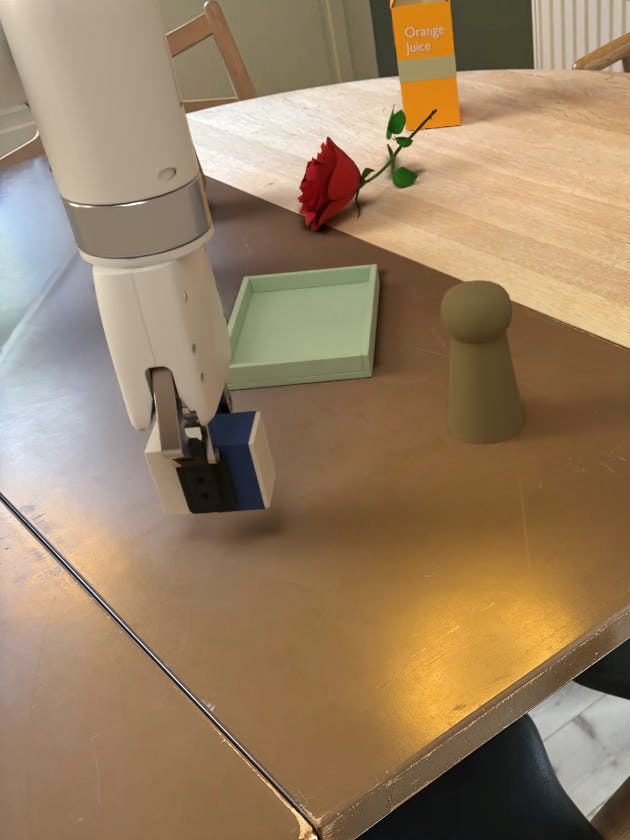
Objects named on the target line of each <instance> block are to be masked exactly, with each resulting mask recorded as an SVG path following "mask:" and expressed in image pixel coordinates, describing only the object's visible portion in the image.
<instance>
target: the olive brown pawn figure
mask: <svg viewBox="0 0 630 840" xmlns="http://www.w3.org/2000/svg"><path fill="white" fill-rule="evenodd" d="M439 311H440V312H439V313H440V319H441V322H442V325H443V328H444V330H445V332H447V334H448V335H449V336H450V341H449V374H448V375H449V376H448V377H449V378H448V411H447V427H448V428H447V429H448V433H450V434H451V435H452V437H453V438H454V439H456V440H458V441H461V442H463V443H467V444H473V445H489V444H497V443H500V442H504V441H507V440H509V439H511V438H513V437H515V436H516V435H518V433H520V431H522V430H523V428H524V425H525V416H524V411H523V407H522V401H521V396H520V392H519V386H518V382H517V378H516V377H517V376H516V373H515V368H514V363H513V358H512V353H511V348H510V343H509V339H508V334H507V330H508V329H509V327H510V325H511V323H512V317H513V303H512V301H511V298H510V295H509V292H508V291H507V290H506V289H505V287H503V286H502V285H501V284H499V283H496V282H493V281H491V280H483V279H481V280H479V279H478V280H475V279H473V280H469V281H468V280H467V281H464V282H460V283H458V284H456V285H454V286H452V287H451V288H449V289H448V290H447V291H446V292H445V294H444V296H443V298H442V301H441V302H440V310H439Z"/></svg>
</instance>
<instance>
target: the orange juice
mask: <svg viewBox="0 0 630 840" xmlns="http://www.w3.org/2000/svg"><path fill="white" fill-rule="evenodd" d="M451 4H452V3H451V0H389V9H390V10H391V11H390V12H391V20H392V32H393V40H394V41H393V42H394V45H395V51H396V53H395V54H396V62H397V70H398V71H397V72H398V79H399V85H400V92H401V93H400V94H401V101H402V110H403V112H404V114H405V116H406V123H405V126H404V128H405V131H406V130H414V131H415V129H417V128H418V127H419V125H420V124H421V123H422V122H423V121H424V120H425V119H426V118H427V117H428V116H429V115H430V114H431V112H432V110H433V111H434V110H435V109H437V112H436V113H435V114H434V115H433V116H432V117H431V118H432V119H429V120H428V121H427V122H426V123H425V124H424V126H423V127H422V128H421V129H423V130H425V129H424V128H432V129H434V128H433V127H442V128H444V127H443V126H451V127H453V126H452V125H461V112H460V101H459V91H458V80H457V79H458V78H457V64H456V63H457V62H456V54H455V43H454V30H453V26H454V25H453V24H454V23H453V19H452V18H453V16H452V11H451V9H452V8H451Z"/></svg>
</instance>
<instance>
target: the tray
mask: <svg viewBox="0 0 630 840" xmlns="http://www.w3.org/2000/svg"><path fill="white" fill-rule="evenodd" d="M380 287H381V283H380V276H379V269H378V264H377V263H373V264H363V265H352V266H342V267H331V268H321V269H311V270H302V271H301V270H300V271H290V272H281V273H280V272H279V273H270V274H260V275H247V276H243V279H242V281H241V284H240V287H239V291H238V294H237V297H236V299H235V302H234V306H233V309H232V312H231V315H230V318H229V321H228V324H227V328H228V333H229V338H230V345H231V362H230V367H229V371H228V374H227V378H226V383H227V386H228V389H229V391H236V390H246V389H257V388H269V387H280V386H288V385H300V384H310V383H311V384H312V383H320V382H321V383H322V382H332V381H341V380H342V381H343V380H353V379H364V378H373V370H374V358H375V346H376V334H377V323H378V312H379V311H378V310H379V301H380V300H379V299H380V298H379V297H380Z"/></svg>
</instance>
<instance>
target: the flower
mask: <svg viewBox="0 0 630 840" xmlns="http://www.w3.org/2000/svg"><path fill="white" fill-rule="evenodd" d="M395 105H396V103H394V104H393V107H392V109H391V113H390V116H389V119H388V123H387V128H386V132H385V137H386V140H387V141H390V140H393V141H396V144H397V145H399V146H397V148H396V149H395V150H394V151H393V148H392V147H391V146H390V144H389V143H387V144H386V147H387V152H388V154H389V160H388V161H387V163H386V164H385V165H384V166H383V167H382V168H380V170H379V171H377V172H376V170H375V169H373V168H370V167H364V169H363V171H362V173H361V171H360V169H359V167H358V164H357V163H356V162H355V161H354V159H353V158H351V157H350V155H348V154H347V153H346V152H345V151H344V150H342V148H340V147H339V146H338V145H337V144H336V143H335V141H333V139H332V138H331V137H330V136H326V139H325V142H324V141H323V142H322V143H320V150H321V151H320V152H317V154H316V158H314V157H313V156H311V160H309V161H308V162H307V164H306V166H305V171H304V175H303V178H302V180H301V182H300V185H299V187H298V189H299V190H300V192H301V195H299V196H297V197H296V199H297V200H298V203H301V204H302V205H301V208H300V209H299V211H298V214H299V215H305V224H306V227H308V226H309V225H310V224H311V222H312V224H311V226H310V227H311V229H312V230H313V231H317V230H318V229H319V228H320V227H321V226H322V224H323V223H324V222H325V221H326V220H328V219H330V218H332V217H333V216H334V215H336V214H338V213H339V212H340V211H341V210H343V209H344V208H345V207H346V206H348V204H349V203H350V202H351V201H352V200H353V198H354V202H355V206H356V207H357V209H358V211H357V218H359V216H360V214H361V209H362V205H361V204H360V202H359V199H358V198H359V195H360V191H361V189H362V188H364V186H365V185H366V184H368V183H370V182H372V181H374V180H375V179H376V178H377V177H379V176H380V175H382V173H384V171H386V170H387V168H388V167H389V166H390V169H391V170H390V172H391V177H392V184H393V185H394V186H395V187H397V188H399V189H401V188H400V187H402V188H406V187H409V186H412V185H413V184H414V183H415V181H416V180H417V178H418V177H419V175H418V174H417V173H415V172H413V171H412V170H410V169H408V168H407V167H404V166H400V167H398V168H397V169H396V170H395V167H396V166H395V164H396V159H397V156H398V154H400V152H401V150H402V149H405V148H409V147H411V145H412V144H413V142H414V139H413V138H414V136H416V135H417V134H418V132H419V131H421V130H420V129H421V128H422V127H423V126H424V124H425V123H426V122H427V121H428V120H429V119H432V118H431V117H432V116H433V115H434V114H435V113H436V112H437V109H435V110H434V111H433V110H432V112H431V114H430V115H429V116H428V117H427V118H426V119H425V120H424V121H423V122H422V123H421V124H420V125H419V127H418V128H417V129H416V130H414V131H411V134H410V135H409V136H408V137H407V136H398V135H401V134H402V133H403V131H404V129H405V123H406V116H405V114H404V111H403V108H401V109H400V110H398V111H396V112H395ZM394 112H395V113H394ZM396 135H397V136H396ZM392 136H393V137H394V138H393V137H392ZM375 172H376V173H375ZM372 173H375V174H373V175H372V176H371V177H369V178H368V179H366V178H367V177H368V176H369V175H370V174H372ZM411 184H412V185H411ZM408 185H409V186H408ZM405 186H406V187H405Z"/></svg>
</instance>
